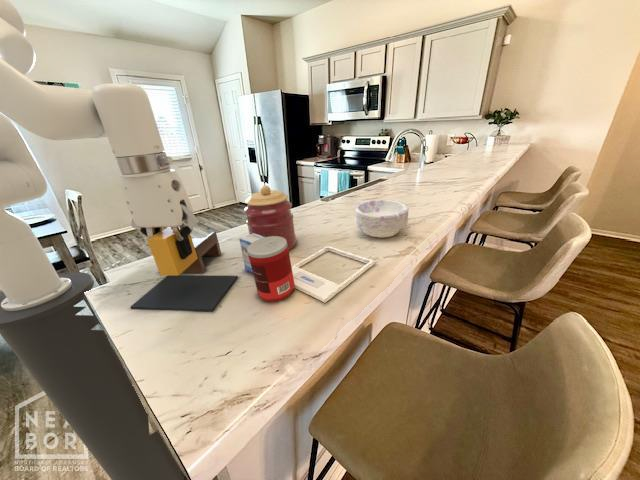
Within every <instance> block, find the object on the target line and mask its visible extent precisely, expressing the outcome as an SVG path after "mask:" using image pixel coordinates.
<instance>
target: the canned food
mask: <svg viewBox="0 0 640 480" xmlns="http://www.w3.org/2000/svg"><path fill="white" fill-rule="evenodd" d="M247 251H248V256H249V260H250V264H251V268H252V272H253V273H252V275H253V279H254V284H255V287H256V291H257V294H258V296H259V297H260V298H261V300H263V301H266V302H279V301H282V300H284V299H286V298H288V297H289V296H290V295H291V294H292V293H293V291H294V289H295V288H294V279H293V273H292V267H291V266H292V262H291V256H290V250H289V249H288V244H287V241H286V239H285V238H283V237H279V236H270V237H264V238H261V239H258V240H256V241H254V242H253V243H251V244H250V245H249V246H248V248H247Z"/></svg>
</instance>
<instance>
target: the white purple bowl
mask: <svg viewBox="0 0 640 480" xmlns="http://www.w3.org/2000/svg"><path fill="white" fill-rule="evenodd" d="M354 216H355V217H354V220H355V225H356V227H357V228H359V229H361V230H362V231H363V232H364V234H366V235H367V236H370V237H372V238H378V239H383V238H384V239H385V238H390V237H393V236H395V235H397V234H398V233H399V231H400V230H403V229H404V228H405V227H406V226H407V225H408V219H409V207H408V206H407V205H406V204H404V203H403V202H400V201H396V200H391V199H390V200H389V199H373V200H368V201H363V202H361V203H359V204H358V205H356V206H355V208H354Z"/></svg>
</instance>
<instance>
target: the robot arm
mask: <svg viewBox="0 0 640 480" xmlns="http://www.w3.org/2000/svg"><path fill="white" fill-rule="evenodd" d="M35 62H36V51H35V48H34V47H33V44H32V43H31V41H30V40H29V38H27V36H26V26H25V23H24V20H23V18H22V16H21V14H20V13H19V11H18V9H17V8H16V7H15V6H14V4H13V3H11V2H10V1H9V0H0V292H2V293H3V295H6V298H5V299H4V300H3V301H2V303H1V307H2V308H3V309H4V310H6V311H19V310H24V309H28V308H31V307H35V306H38V305H40V304H43V303H46V302H48V301H50V300H52V299H54V298H56V297H58V296H60V295H61V294H63V293H64V292H66V291H67V290H68V289H69V288H70V287H71V285H72V282H71V281H70V279H68V278H59V276H58V275H59V274H58V273H57V270H56V269H55V267H54V265H53V263H52V262H51V260H50V259H49V256H48V255H47V253H46V251H45V249H44V248H43V246H42V245H41V243H40V241H39V239H38V237H37V236H36V234H35V232H34V231H33V229H32V227H31V225H30V224H29V223H28V222H27V221H26V220H25V219H23V218H22V217H20V216H18V215H16V214H14V213H12V212H10V211H8V210H6V209H5V208H8V207H11V206H14V205H19V204H23V203H27V202H30V201H34V200H38V199H40V198H42V197H43V196H44V195H46V193H47V190H48V183H47V180H46V177H45V175H44V172H43V171H42V170H41V168H40V165H39V164H38V162H37V160H36V159H35V157H34V155H33V153H32V151H31V149H30V148H29V146H28V144H27V142H26V140H25V138H24V137H23V135H22V133H21V131H20V130H19V129H18V128H17V126H16V125H15V124H17V125H18V126H19V127H20V128H21V127H22V128H23V129H24V130H26V131H28V132H30V133H32V134H34V135H36V136H38V137H41V138H42V139H46V140H51V141H71V140H82V139H84V140H85V139H100V138H107V140H108V143H109V145H110V148H111V150H112V153H113V156H114V157H115V158H114V159H115V160H116V163H117V166H118V169H119V171H120V173H121V176H120V182H121V187H122V191H123V192H122V193H123V195H124V199H125V203H126V205H127V209H128V211H129V214H130V216H131V222H130V225H131V228H133V229H136V230H137V231H139V232H140V233H141V234H143V235H144V236H146V238H147V239H148V238H150V237H151V236H153V235H155V234H157V233H158V232H160V231H162V230H163V228H167V227H171V229H172V231H173V233H174V235H175V237H176V239H177V241H176V242H175V243H176V246H177V249H178V252H179V255H180V258H181V259H185V258H187V257H188V256H189V255H190V254H192V247H191V244H190V241H189V238H188V236H189V235H191V233H192V231H193V230H194V229H195V228H196V227H197V226H198V225H199V224H200V223H201V222H200V221H201V220H200V219H199V218H198V217H197V216H196V215H195V213H194V210H193V206H192V203H191V201H190V198H189V196H188V193H187V190H186V188H185V186H184V184H183V181H182V179H181V178H180V175H179V174H178V173H177V171H176V169H171V165H173V164H174V159H173V158H172V156H167V152H166V149H165V146H164V143H163V140H162V137H161V133H160V130H159V128H158V123H157V121H156V118H155V114H154V112H153V108H152V105H151V102H150V98H149V95H148V93H147V92H146V91H145V89H144V88H143V87H141V86H140V85H137V84H134V83H123V82H121V83H120V82H114V83H113V82H111V83H101V84H98V85H97V84H96V85H95V86H93V88H92V89H90V88H79V87H73V86H61V85H52V84H51V85H50V84H40V83H38V82H35V81H34V80H33V79H30V78H29V77H28V76H27V75H28V74H29V73H30V72H31V71H32V69H33V68H34V66H35ZM12 121H13V122H14V123H13V122H12ZM185 221H186V222H187V223H186V222H185ZM179 227H180V229H181V231H180V229H179Z"/></svg>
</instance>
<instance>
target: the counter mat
mask: <svg viewBox="0 0 640 480" xmlns="http://www.w3.org/2000/svg"><path fill="white" fill-rule="evenodd" d="M237 279H238V275H211V274H210V275H205V274H203V275H197V274H195V275H192V274H190V275H189V274H187V275H186V274H180V275H179V276H165V277H164V278H163V279H161V280H160V281H159V282H158V283H157V284H155V285H154V286H153V287H152V288H151V289H149V290H148V292H146V293H145V294H144V295H143V296H141V297H140V298H139V299H137V301H135V302H134V303H133V304H131V306H129V308H130V310H142V311H143V310H144V311H145V310H146V311H147V310H148V311H177V312H178V311H180V312H211V313H213V312H214V311H215V310H216V308H217V307H218V306H219V304H220V303H221V301H222V300H223V299H224V297H225V296H226V295H227V293H228V292H229V290H230V289H231V288H232V286H233V285H234V283H235V282H236V281H237Z"/></svg>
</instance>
